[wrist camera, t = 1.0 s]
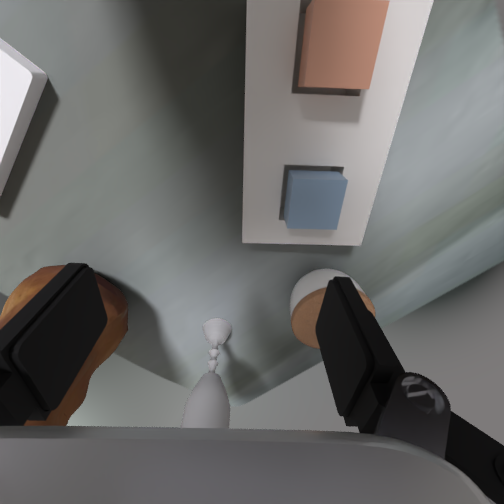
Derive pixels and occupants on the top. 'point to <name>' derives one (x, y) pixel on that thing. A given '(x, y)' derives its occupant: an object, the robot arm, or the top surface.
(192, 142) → the top surface
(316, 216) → the slate-blue key
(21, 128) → the holder
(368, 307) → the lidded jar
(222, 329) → the chalice
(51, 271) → the butternut squash
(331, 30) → the terracotta key
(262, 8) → the key panel
